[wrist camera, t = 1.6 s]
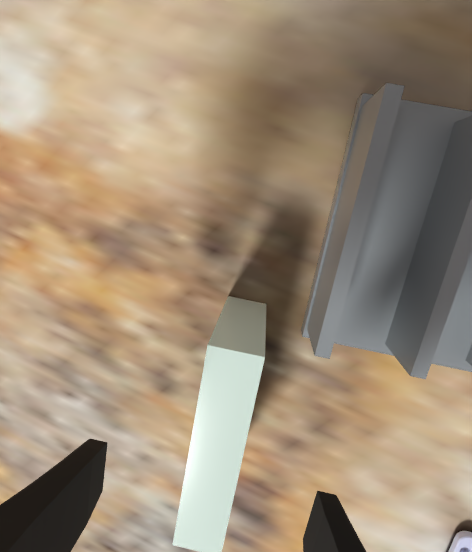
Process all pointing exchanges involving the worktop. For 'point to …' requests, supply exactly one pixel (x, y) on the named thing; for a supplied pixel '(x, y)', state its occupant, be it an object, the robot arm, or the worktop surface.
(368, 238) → the dish rack
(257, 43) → the worktop surface
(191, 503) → the celadon plate
